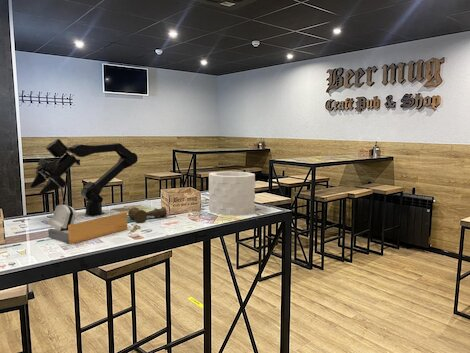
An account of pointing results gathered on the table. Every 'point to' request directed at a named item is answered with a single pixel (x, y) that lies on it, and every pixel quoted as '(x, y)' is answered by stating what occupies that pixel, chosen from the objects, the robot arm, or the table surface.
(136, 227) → the brass key
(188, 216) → the table surface
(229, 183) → the basket
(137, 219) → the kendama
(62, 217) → the hinge
